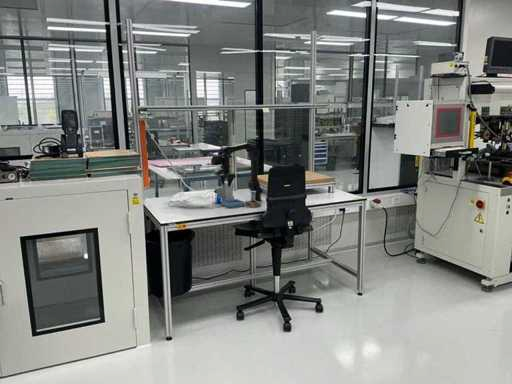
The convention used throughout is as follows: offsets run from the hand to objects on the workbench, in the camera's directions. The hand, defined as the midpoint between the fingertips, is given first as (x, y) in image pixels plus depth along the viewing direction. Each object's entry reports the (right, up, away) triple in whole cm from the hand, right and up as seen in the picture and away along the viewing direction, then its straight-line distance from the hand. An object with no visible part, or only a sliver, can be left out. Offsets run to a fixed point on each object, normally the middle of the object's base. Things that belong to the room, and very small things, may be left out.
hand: (225, 185), depth 299 cm
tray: (+5, -14, +3) cm, 15 cm away
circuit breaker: (-3, -12, +14) cm, 19 cm away
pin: (+19, -14, +2) cm, 24 cm away
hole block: (+19, -14, +2) cm, 24 cm away
